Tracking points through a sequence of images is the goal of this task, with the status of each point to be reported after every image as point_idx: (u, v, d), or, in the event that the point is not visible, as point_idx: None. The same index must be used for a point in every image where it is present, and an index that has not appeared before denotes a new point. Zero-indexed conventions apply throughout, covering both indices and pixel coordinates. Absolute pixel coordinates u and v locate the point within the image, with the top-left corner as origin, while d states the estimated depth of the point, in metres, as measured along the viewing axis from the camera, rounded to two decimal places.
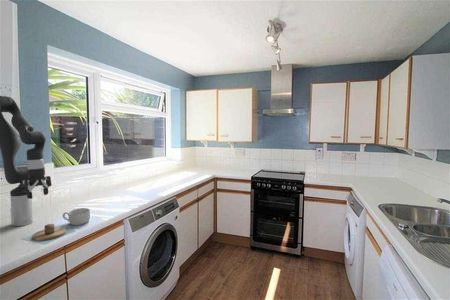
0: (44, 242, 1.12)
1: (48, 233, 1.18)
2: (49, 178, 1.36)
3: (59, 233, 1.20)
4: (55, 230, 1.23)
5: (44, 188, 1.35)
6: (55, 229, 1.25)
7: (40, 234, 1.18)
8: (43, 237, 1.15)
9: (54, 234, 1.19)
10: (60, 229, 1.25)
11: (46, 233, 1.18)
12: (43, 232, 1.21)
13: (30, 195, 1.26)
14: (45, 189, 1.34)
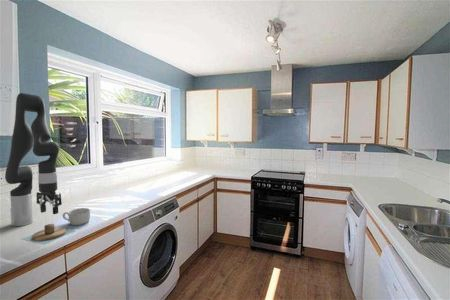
0: (44, 242, 1.12)
1: (48, 233, 1.18)
2: None
3: (59, 233, 1.20)
4: (55, 230, 1.23)
5: (42, 205, 1.20)
6: (55, 229, 1.25)
7: (40, 234, 1.18)
8: (43, 237, 1.15)
9: (54, 234, 1.19)
10: (60, 229, 1.25)
11: (46, 233, 1.18)
12: (43, 232, 1.21)
13: (57, 209, 1.19)
14: (44, 205, 1.21)
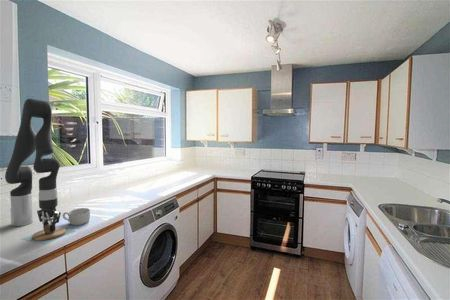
0: (44, 242, 1.12)
1: (48, 233, 1.18)
2: None
3: (59, 233, 1.20)
4: (55, 230, 1.23)
5: (45, 223, 1.20)
6: (55, 229, 1.25)
7: (40, 234, 1.18)
8: (43, 237, 1.15)
9: (54, 234, 1.19)
10: (60, 229, 1.25)
11: (46, 233, 1.18)
12: (43, 232, 1.21)
13: (54, 227, 1.20)
14: (47, 223, 1.21)
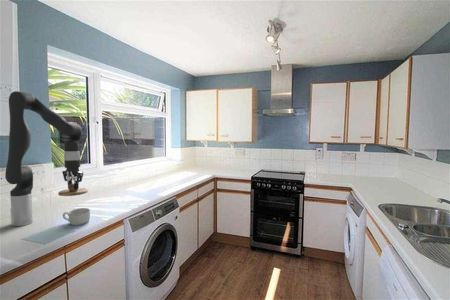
0: (44, 242, 1.12)
1: (72, 191, 1.32)
2: None
3: (82, 191, 1.33)
4: (78, 189, 1.37)
5: (70, 182, 1.34)
6: (78, 189, 1.38)
7: (65, 191, 1.32)
8: (68, 193, 1.28)
9: (77, 191, 1.32)
10: (82, 189, 1.38)
11: (70, 191, 1.32)
12: (67, 190, 1.34)
13: None
14: (71, 183, 1.35)
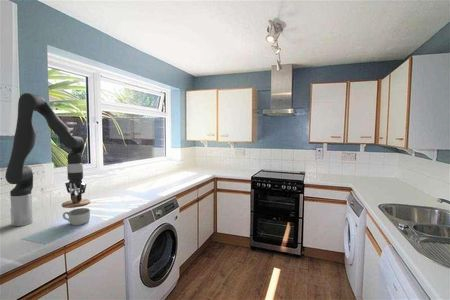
0: (44, 242, 1.12)
1: (75, 202, 1.34)
2: None
3: (85, 202, 1.36)
4: None
5: (73, 194, 1.36)
6: None
7: (68, 203, 1.34)
8: (72, 205, 1.31)
9: (81, 203, 1.35)
10: (85, 200, 1.41)
11: (74, 202, 1.34)
12: (70, 202, 1.37)
13: None
14: (74, 194, 1.37)
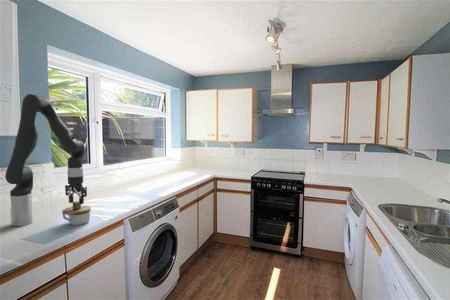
0: (44, 242, 1.12)
1: (76, 209, 1.35)
2: None
3: (85, 209, 1.36)
4: (81, 207, 1.40)
5: (71, 196, 1.37)
6: (81, 206, 1.41)
7: (69, 210, 1.35)
8: (72, 212, 1.31)
9: (81, 210, 1.35)
10: (85, 206, 1.41)
11: (74, 209, 1.35)
12: (71, 208, 1.37)
13: None
14: (72, 197, 1.38)
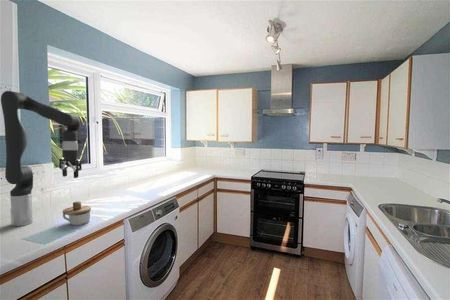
0: (44, 242, 1.12)
1: (76, 209, 1.35)
2: None
3: (85, 209, 1.36)
4: (81, 207, 1.40)
5: (64, 170, 1.36)
6: (81, 206, 1.41)
7: (69, 210, 1.35)
8: (72, 212, 1.31)
9: (81, 210, 1.35)
10: (85, 206, 1.41)
11: (74, 209, 1.35)
12: (71, 208, 1.37)
13: None
14: (65, 171, 1.37)
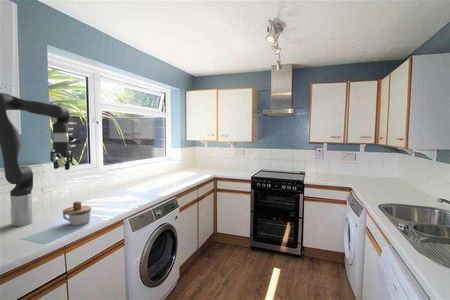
0: (44, 242, 1.12)
1: (76, 209, 1.35)
2: None
3: (86, 209, 1.36)
4: (81, 207, 1.40)
5: (55, 162, 1.36)
6: (81, 206, 1.41)
7: (69, 210, 1.35)
8: (73, 212, 1.31)
9: (82, 210, 1.35)
10: (86, 206, 1.41)
11: (75, 209, 1.35)
12: (71, 208, 1.37)
13: None
14: (57, 163, 1.37)
